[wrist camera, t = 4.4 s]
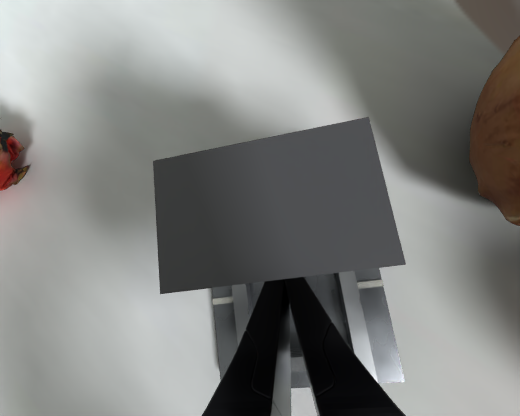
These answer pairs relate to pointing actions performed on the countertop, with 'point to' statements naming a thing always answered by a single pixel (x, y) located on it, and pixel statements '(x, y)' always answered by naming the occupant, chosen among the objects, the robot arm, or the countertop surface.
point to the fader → (274, 210)
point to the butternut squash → (499, 136)
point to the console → (339, 310)
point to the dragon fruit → (9, 160)
